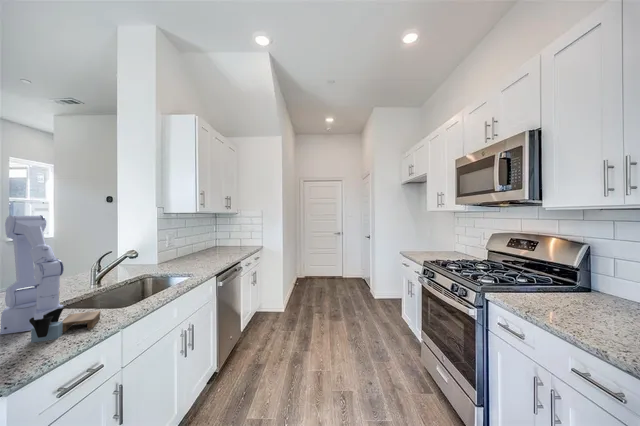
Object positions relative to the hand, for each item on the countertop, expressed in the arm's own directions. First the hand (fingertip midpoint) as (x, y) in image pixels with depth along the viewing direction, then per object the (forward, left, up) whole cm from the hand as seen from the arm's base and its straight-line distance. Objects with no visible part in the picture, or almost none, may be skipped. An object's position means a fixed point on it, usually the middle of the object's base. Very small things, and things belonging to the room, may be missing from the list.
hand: (47, 332), depth 96 cm
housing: (0, 0, -2) cm, 2 cm away
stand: (+7, +9, -2) cm, 12 cm away
